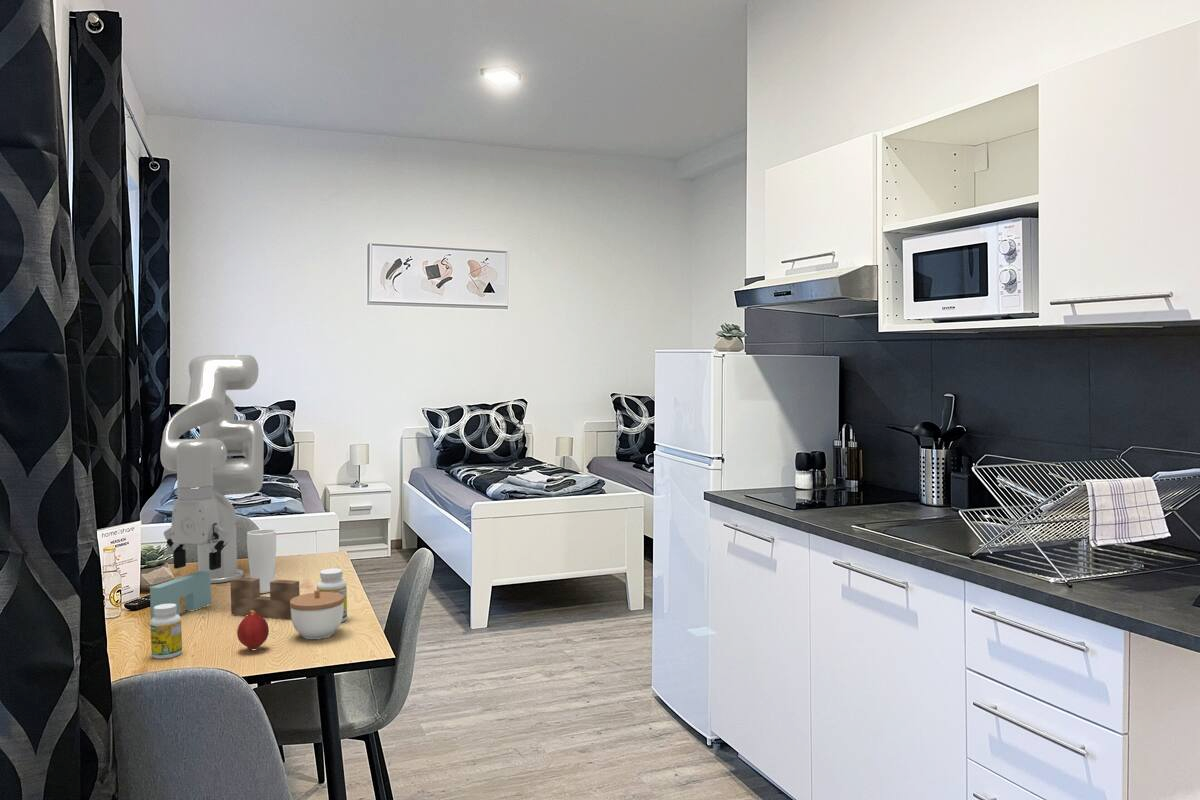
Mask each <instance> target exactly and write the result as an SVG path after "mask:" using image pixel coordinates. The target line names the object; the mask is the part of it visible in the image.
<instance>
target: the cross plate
mask: <svg viewBox="0 0 1200 800" xmlns="http://www.w3.org/2000/svg"><path fill="white" fill-rule="evenodd" d="M211 585H212V583H211V578H210V571H202V570H201V571H198V570H197V571H195V572H192V573H190V574H187V575H183V576H181V577H178V578H174V579H172V580H168V581H165V582H162V583H159V584H156V585H153V586H150V587H149V595H150V596H149V598H150V600H149V602H150V621H151V620H152V618H154V617H155V615H154V607H155V606H157V605H161V604H176V607H177V611H176V613H175V614H177V615H179V616H180V617H181V613H180V612H181V611H180V599H181V598H184V600H183V601H184V611H185V610H196V609H199V608H201V609H203V608H202V607H204V606H207V605H209V604H211V605H212V590H211V589H212V587H211ZM209 606H210V605H209ZM207 607H208V606H207ZM204 608H205V607H204ZM199 610H200V609H199ZM196 611H197V610H196Z"/></svg>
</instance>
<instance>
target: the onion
mask: <svg viewBox="0 0 1200 800" xmlns="http://www.w3.org/2000/svg"><path fill="white" fill-rule="evenodd" d="M248 613H249V615H248V616H244V618H242V620H240V623H239V624H238V626H237V629H236V630H237V631H236V632H237V633H236V635H237V639H238V641H239V643H241V644H242V645H243V646H245V647H246V648H248V649H249V650H250V649H256V650H257V649H259V648H260V647H261V646H262V645H263V644H264V643H265V642H266V641H267V639H268V637H269V632H270V629H269V624H268V622H267V620H266V619H265V617H262V616H260V615H258V614H257V613H256V612H255V611H254V610H251V611H250V612H248Z"/></svg>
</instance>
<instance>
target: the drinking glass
mask: <svg viewBox="0 0 1200 800" xmlns="http://www.w3.org/2000/svg"><path fill="white" fill-rule="evenodd" d="M246 548H247V549H246V550H247V558H248V559H247V560H248V568H249V574H250V577H249V578H259V579H260V593H263V594H269V593H270V582H272V581H274V580H275V575H276V573H275V571H276V569H275V568H276V560H277V559H276V558H277V557H276V555H277V535H276V530H275V529H272V528H267V529H266V528H262V529H253V530H250V531H247V533H246ZM268 592H269V593H268Z"/></svg>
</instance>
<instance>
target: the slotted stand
mask: <svg viewBox="0 0 1200 800" xmlns="http://www.w3.org/2000/svg"><path fill="white" fill-rule="evenodd" d="M229 582H230V584H229V585H230V611H231V612H230V614H234V615H233V616H237V615H249V613H248V612H250V611H251V610H254V611H255V612H256V613H257V614H258V615H260V616H262V617H263V618H265V617H271V618H270V619H278V618H282V619H281V620H292V619H291V607H290V600H291V599H292V598H294V597H297V596H299V595H301V594H300V592H301V591H300V580H291V579H290V580H289V579H274V581H272V582H270V592H269V596H267V595H266V596H264V595H261V594H260V579H259V578H251V577H244V576H243V577H237V578H234V579H231V580H230V581H229Z"/></svg>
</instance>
